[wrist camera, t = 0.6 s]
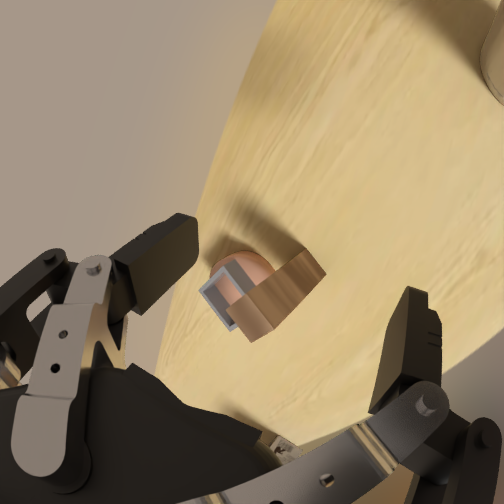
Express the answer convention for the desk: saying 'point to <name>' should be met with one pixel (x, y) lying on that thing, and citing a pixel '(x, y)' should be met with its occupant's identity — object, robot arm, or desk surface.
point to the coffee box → (284, 450)
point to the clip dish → (234, 282)
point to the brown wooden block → (276, 296)
